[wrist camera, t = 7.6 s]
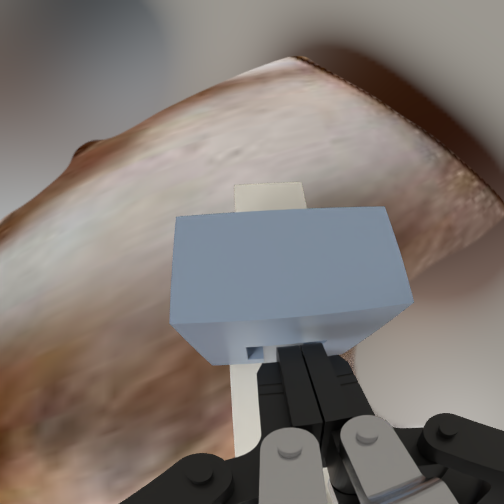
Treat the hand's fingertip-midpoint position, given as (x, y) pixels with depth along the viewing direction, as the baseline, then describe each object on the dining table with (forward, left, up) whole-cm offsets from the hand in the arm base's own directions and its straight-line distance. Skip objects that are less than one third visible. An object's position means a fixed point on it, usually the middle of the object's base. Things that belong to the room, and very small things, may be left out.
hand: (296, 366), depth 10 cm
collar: (0, +3, -8) cm, 9 cm away
